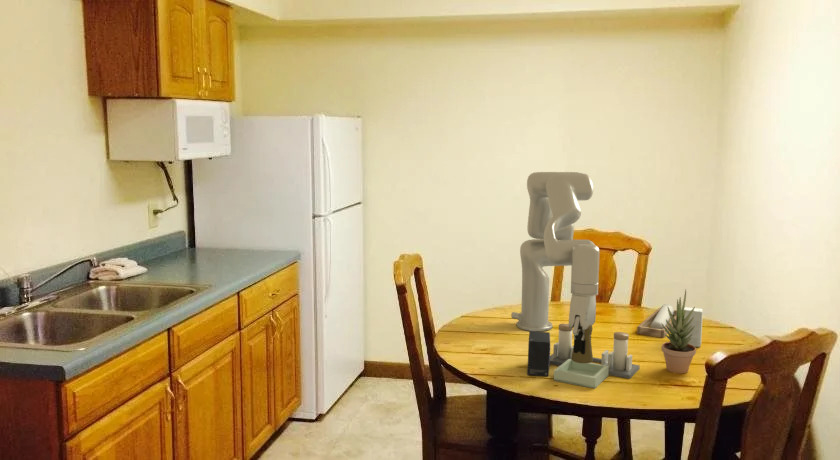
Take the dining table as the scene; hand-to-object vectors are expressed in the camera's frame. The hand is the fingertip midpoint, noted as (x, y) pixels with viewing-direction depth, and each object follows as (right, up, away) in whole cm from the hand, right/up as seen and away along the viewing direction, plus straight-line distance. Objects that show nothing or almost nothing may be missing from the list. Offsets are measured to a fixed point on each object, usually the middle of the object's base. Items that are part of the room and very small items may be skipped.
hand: (582, 350), depth 208 cm
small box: (-11, -7, +8) cm, 16 cm away
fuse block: (+5, -7, +12) cm, 15 cm away
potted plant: (+30, -7, +8) cm, 32 cm away
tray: (0, -8, +1) cm, 8 cm away
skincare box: (+43, -4, +33) cm, 55 cm away
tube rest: (+41, 0, +55) cm, 69 cm away
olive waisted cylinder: (0, -3, 0) cm, 3 cm away
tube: (+41, -1, +56) cm, 69 cm away
